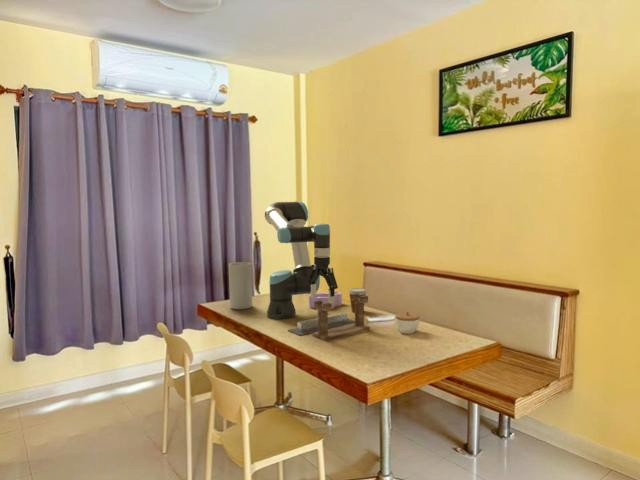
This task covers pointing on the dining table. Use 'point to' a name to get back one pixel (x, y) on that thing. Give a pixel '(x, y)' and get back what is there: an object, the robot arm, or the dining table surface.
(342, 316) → the steel rail
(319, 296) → the lilac boxy piece
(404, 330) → the lidded jar
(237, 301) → the cylinder vase
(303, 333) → the rubber mat
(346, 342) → the dining table surface
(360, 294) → the disposable coffee cup
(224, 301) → the dining table surface
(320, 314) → the hook rack
